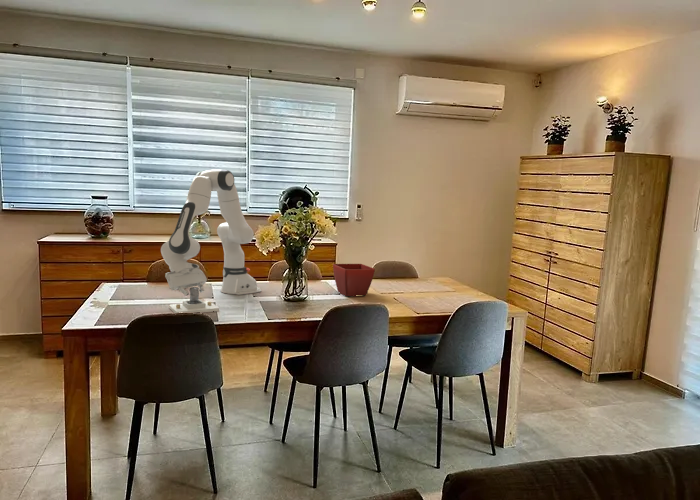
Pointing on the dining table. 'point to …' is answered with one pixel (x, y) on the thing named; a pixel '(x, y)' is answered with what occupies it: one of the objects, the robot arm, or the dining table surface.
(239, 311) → the dining table surface
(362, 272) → the plant pot
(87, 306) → the dining table surface
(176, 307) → the housing
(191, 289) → the pin
